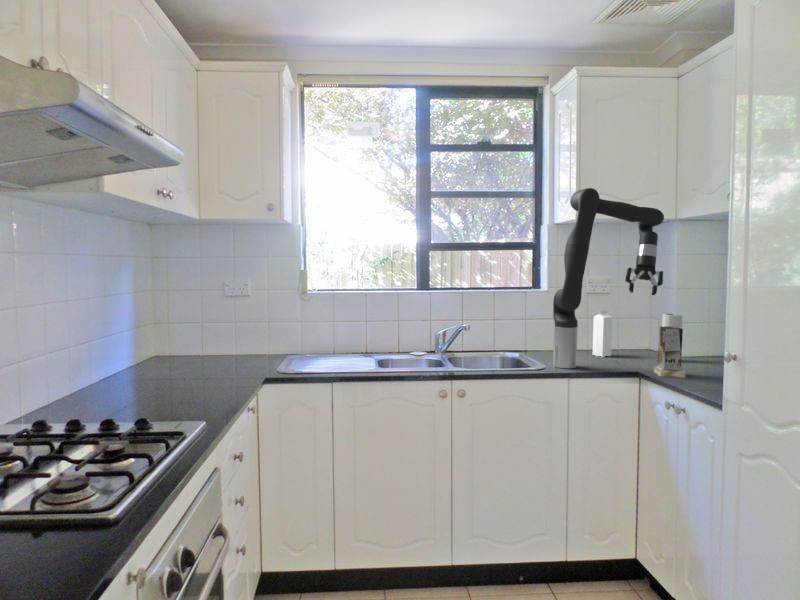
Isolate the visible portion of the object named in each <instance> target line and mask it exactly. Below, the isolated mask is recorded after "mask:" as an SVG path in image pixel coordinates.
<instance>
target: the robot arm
mask: <svg viewBox="0 0 800 600" xmlns="http://www.w3.org/2000/svg"><path fill="white" fill-rule="evenodd" d="M569 204H570V206H571V208H572V209H573V210H574V211H576V212H577V217H576V220H575V223H574V226H573V228H572V229H571V232H570V233H569V235H568V238H567V240H566V244H565V249H564V254H563V256H564V258H563V261H564V272H565V274H564V275H565V278H564V283H563V287H562V288H560V289H558V290H557V291H556V292H555V293H554V297H553V300H552V301H553V304H552V305H553V308H552V311H553V312H552V313H553V314H552V315H553V317H552V318H553V320H554V337H553V338H554V341H553V359H552V360H553V363H552V365H553V367H554V368H559V369H575V368H577V364H578V363H577V356H578V353H577V352H578V328H579V327H578V326H579V325H578V324H579V323H578V319H577V316H576V312H575V311H576V310H577V309H578V308H579V307H580V305H581V302H582V293H583V292H582V290H583V281H584V275H585V270H586V265H587V259H588V254H589V250H590V243H591V239H592V233H593V232H592V231H593V227H594V222H595V219H596V215H597V214H599V215H603V216H607V217H611V218H614V219H618V220H622V221H626V222H630V223H637V225H638V226H637V227H638V233H639V241H638V248H637V251H636V252H637V253H636V260H635V261H636V262H635V268H632V267H628V268H627V269H626V274H625V279H624V280H625V282H626V283H628V284H629V286H628V291H629V293H630V294H631V293H632V294H633V293H634V288H635V284H634V283H635V282H636V281H637V280H640V281H641V280H644V281H649V282H650V283H651V285H652V288H651V296H655V295H656V294H657V292H658V287H660V286H663V284H664V271H662V270H660V271H657V270H656V264H657V256H658V255H657V254H658V240H659V235H658V233H657V232H656V231H654V229H653V228H654V227H657V226H659V225H661V224H662V223H663V222H664V220H665V215H664V212H662V210H660V209H658V208H655V207H650V206H649V207H646V206H638V205H634V204H631V203H627V202H623V201H615V200H614V201H613V200H608V199H602V198H600V195H599V192H598V191H597V189H595V188H592V187H588V188H583V189H579V190H577V191H575V192H574V193H573V194H572V195H571V196H570V200H569ZM633 273H634V274H635V276H634V277H633V278H632V279H631V274H633ZM655 275H656V276H657V280H656V278H655V277H654V276H655Z"/></svg>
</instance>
